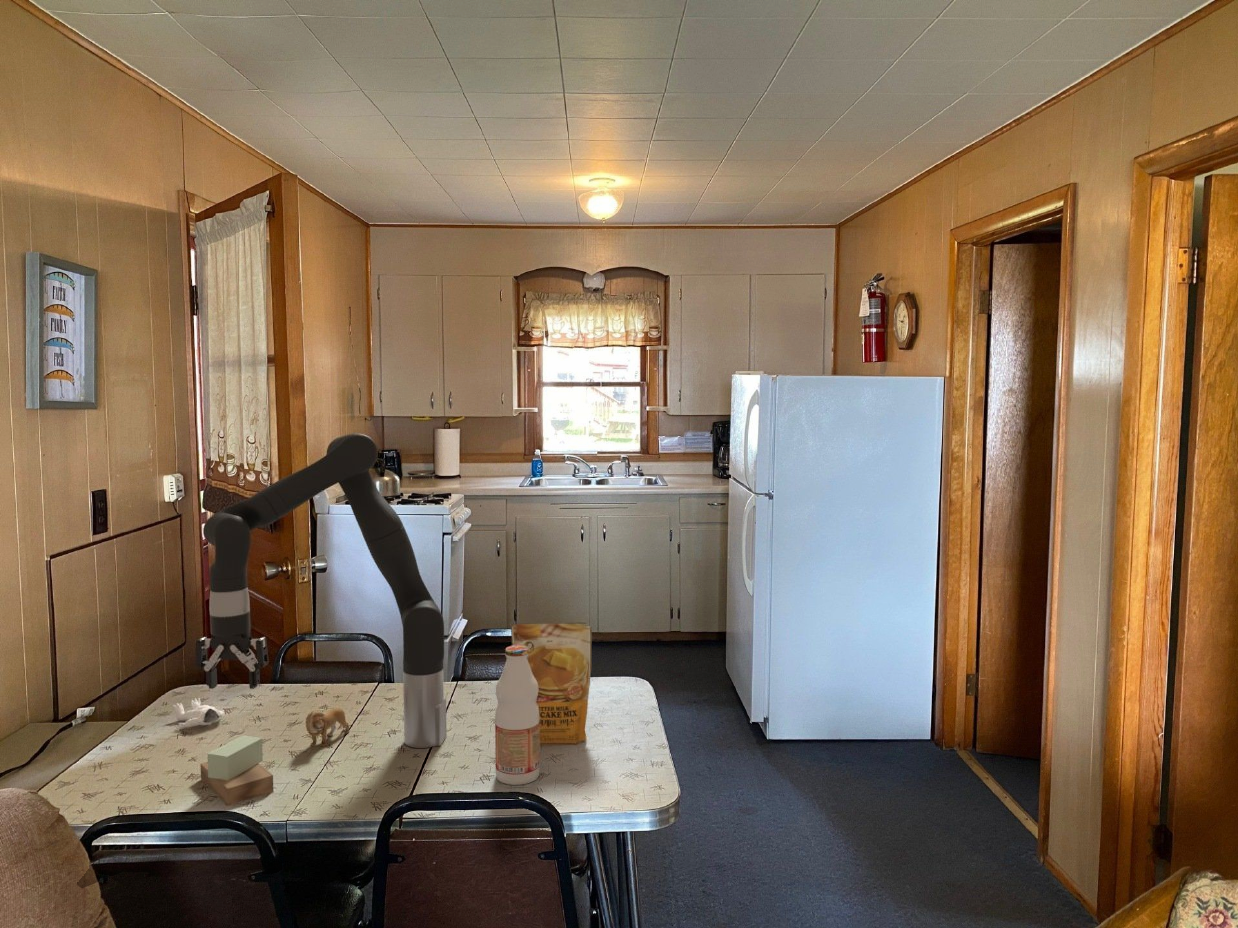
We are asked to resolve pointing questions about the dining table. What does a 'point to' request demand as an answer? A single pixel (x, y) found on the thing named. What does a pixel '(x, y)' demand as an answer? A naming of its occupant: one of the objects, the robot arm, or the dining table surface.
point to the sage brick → (234, 757)
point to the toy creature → (196, 714)
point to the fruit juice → (517, 720)
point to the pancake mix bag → (559, 677)
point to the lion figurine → (325, 724)
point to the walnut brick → (240, 784)
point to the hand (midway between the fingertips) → (233, 687)
